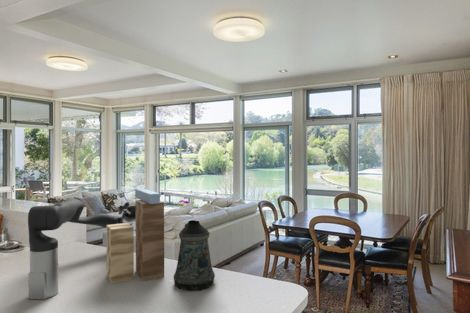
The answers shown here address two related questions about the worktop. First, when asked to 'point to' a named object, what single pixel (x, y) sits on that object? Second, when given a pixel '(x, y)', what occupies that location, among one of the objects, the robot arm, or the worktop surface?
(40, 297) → the robot arm
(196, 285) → the beer stein
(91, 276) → the worktop surface
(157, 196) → the bar
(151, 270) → the walnut stand
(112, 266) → the oak tower
